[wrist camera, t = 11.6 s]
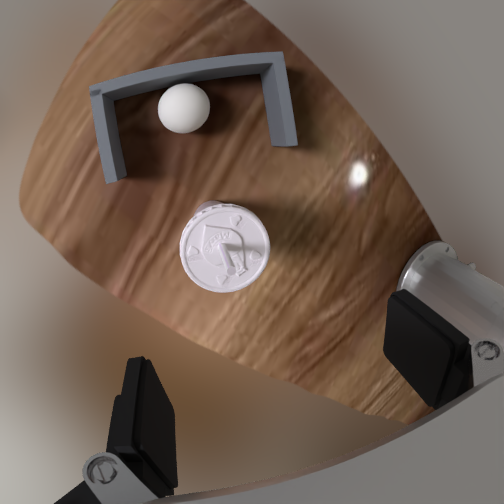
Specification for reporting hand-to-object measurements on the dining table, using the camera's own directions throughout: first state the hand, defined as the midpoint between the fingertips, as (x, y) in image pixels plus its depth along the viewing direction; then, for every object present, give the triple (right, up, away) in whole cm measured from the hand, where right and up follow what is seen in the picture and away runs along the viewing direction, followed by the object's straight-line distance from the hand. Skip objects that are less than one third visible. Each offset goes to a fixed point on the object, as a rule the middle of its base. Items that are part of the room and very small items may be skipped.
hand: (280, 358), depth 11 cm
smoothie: (-5, +7, +19) cm, 21 cm away
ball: (-7, +16, +13) cm, 22 cm away
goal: (-7, +17, +15) cm, 24 cm away
